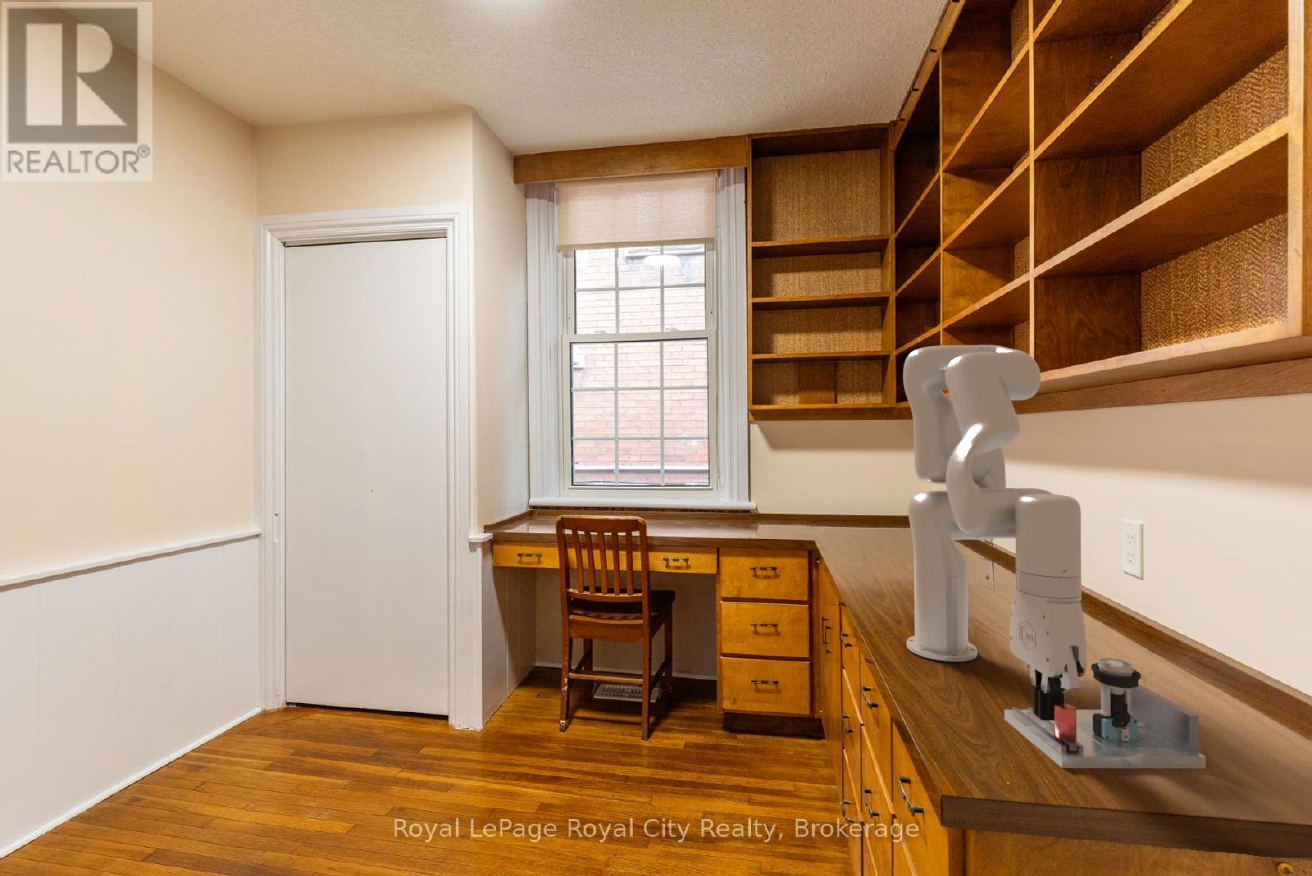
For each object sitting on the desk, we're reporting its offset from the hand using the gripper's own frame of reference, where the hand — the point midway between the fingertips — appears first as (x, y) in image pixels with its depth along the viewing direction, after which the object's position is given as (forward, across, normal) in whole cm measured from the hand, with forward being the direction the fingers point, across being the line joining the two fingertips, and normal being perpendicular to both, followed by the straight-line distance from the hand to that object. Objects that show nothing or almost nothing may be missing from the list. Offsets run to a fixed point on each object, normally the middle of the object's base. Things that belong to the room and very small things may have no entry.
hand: (1048, 717), depth 81 cm
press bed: (+4, -1, +7) cm, 8 cm away
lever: (+2, +3, 0) cm, 4 cm away
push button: (+2, +1, +9) cm, 10 cm away
